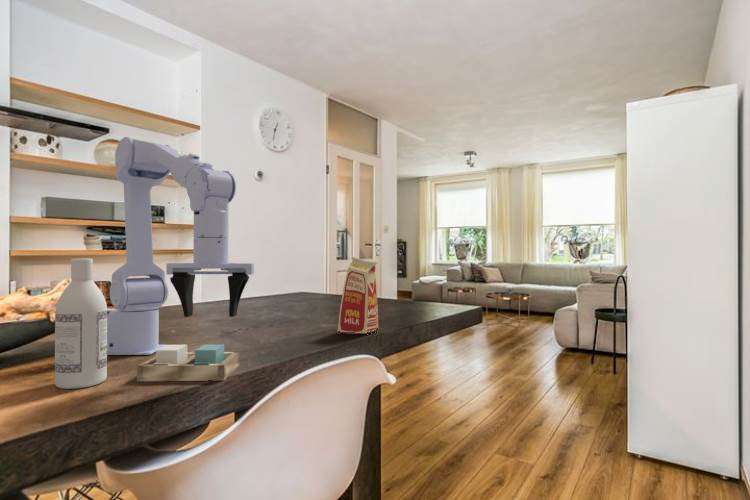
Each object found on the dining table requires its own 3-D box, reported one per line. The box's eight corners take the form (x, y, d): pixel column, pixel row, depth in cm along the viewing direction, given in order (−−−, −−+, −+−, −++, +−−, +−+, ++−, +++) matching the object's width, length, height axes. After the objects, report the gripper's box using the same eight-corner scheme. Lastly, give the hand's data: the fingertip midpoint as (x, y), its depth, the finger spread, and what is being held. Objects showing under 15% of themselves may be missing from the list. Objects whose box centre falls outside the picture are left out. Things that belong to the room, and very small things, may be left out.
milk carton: (337, 333, 114) (337, 256, 114) (352, 327, 123) (352, 256, 123) (369, 335, 111) (370, 256, 111) (382, 329, 120) (383, 256, 120)
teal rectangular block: (215, 373, 74) (215, 350, 74) (194, 373, 74) (194, 350, 74) (226, 365, 80) (226, 343, 80) (206, 365, 80) (206, 343, 80)
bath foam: (98, 374, 75) (98, 258, 75) (113, 382, 71) (114, 258, 71) (49, 383, 70) (49, 258, 70) (62, 393, 66) (63, 259, 66)
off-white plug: (177, 374, 74) (177, 350, 74) (155, 374, 74) (156, 350, 74) (189, 365, 80) (190, 343, 80) (170, 365, 80) (170, 343, 80)
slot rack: (136, 381, 72) (137, 364, 72) (162, 366, 81) (162, 350, 81) (224, 380, 72) (224, 363, 72) (239, 365, 82) (239, 350, 82)
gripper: (158, 237, 73) (158, 319, 72) (247, 237, 73) (247, 319, 73) (175, 238, 80) (175, 313, 80) (256, 238, 80) (256, 313, 80)
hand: (210, 316), depth 77 cm, fingers open, 7 cm apart
